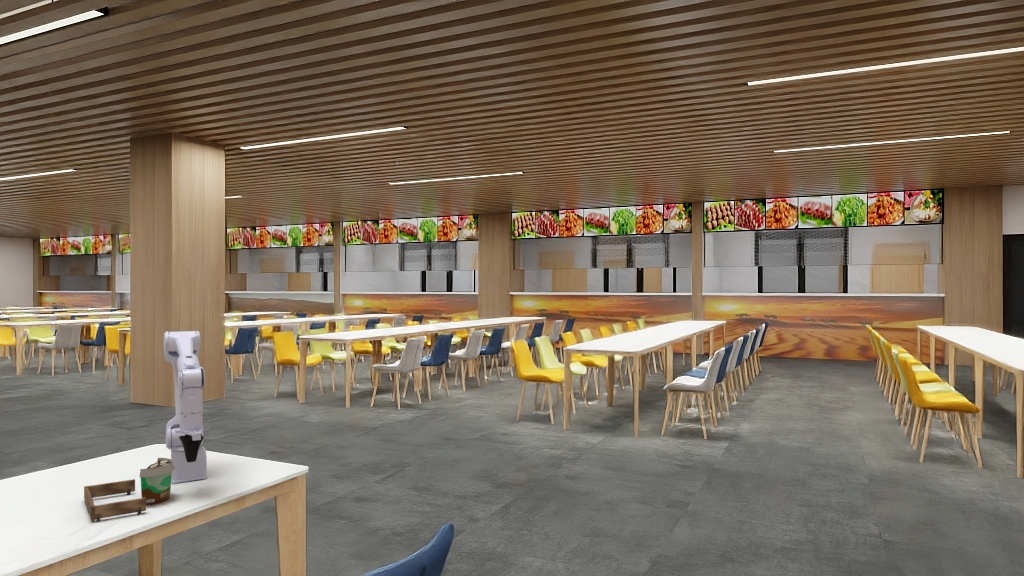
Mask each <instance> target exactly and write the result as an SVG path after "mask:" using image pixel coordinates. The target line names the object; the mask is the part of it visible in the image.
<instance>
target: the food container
mask: <svg viewBox="0 0 1024 576" xmlns="http://www.w3.org/2000/svg"><path fill="white" fill-rule="evenodd" d="M174 469H175V467H174V463H173V462H172V460H171V458H166V457H157V461H156V462H154V463H152V464H150V465H148V467H147V468H140V471H139V478H140V487H141V488H140V489H141V490H140V492H141V498H145V497H146V507H148V506H155V505H160V504H163V503H166V502H168V501H169V500H170V498H171V490H172V489H171V486H172V482H171V477H172V471H173V470H174Z"/></svg>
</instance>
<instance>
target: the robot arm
mask: <svg viewBox="0 0 1024 576" xmlns="http://www.w3.org/2000/svg"><path fill="white" fill-rule="evenodd" d="M200 349H201V333H200V331H199V330H192V331H191V330H187V331H184V330H183V331H167V330H166V331H165V332H164V333H163V353H164V355H163V357H164V360H165V361H166V362H168V363H170V364H171V366H172V370H173V380H174V381H173V383H174V384H173V385H174V405H175V416H173V418H171V419H170V420H168V421H167V423H166V425H165V447H166V449H168V450H170V459H171V460H172V462H173V463H174V467H175V469H174V470H173V471H172V477H171V484H179V483H185V482H191V481H198V480H204V479H207V478H208V476H207V474H208V473H207V469H208V468H207V466H208V465H207V462H208V461H207V459H208V458H207V457H208V456H207V450H206V448H205V446H202V445H203V444H204V426H203V422H204V421H203V419H204V418H203V402H204V401H203V400H204V399H203V397H204V396H203V393H204V392H203V389H204V388H205V385H206V384H205V383H206V375H205V370H204V367H202V366H201V365H200V361H199V355H200Z"/></svg>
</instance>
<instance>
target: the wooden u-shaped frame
mask: <svg viewBox="0 0 1024 576" xmlns="http://www.w3.org/2000/svg"><path fill="white" fill-rule="evenodd" d="M134 492H136V479H135V478H134V479H127V480H119V481H112V482H107V483H100V484H99V483H98V484H92V485H91V484H90V485H85V486H83V500H84V503H85V505H86V508H87V511H88V514H89V516H90V520H91V521H93V520H96V522H100V521H101V519H105V518H112V517H116V516H117V517H118V516H123V515H127V514H128V515H129V514H134V513H135V514H136V513H137V514H138V515H139V514H142V512H146V511H147V506H146V497H145V498H142V497H140V498H134V499H128V500H120V501H115V502H108V503H101V504H96V505H95V503H94V498H99V497H108V496H113V495H120V494H127V495H131V493H134ZM99 520H100V521H99Z"/></svg>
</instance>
